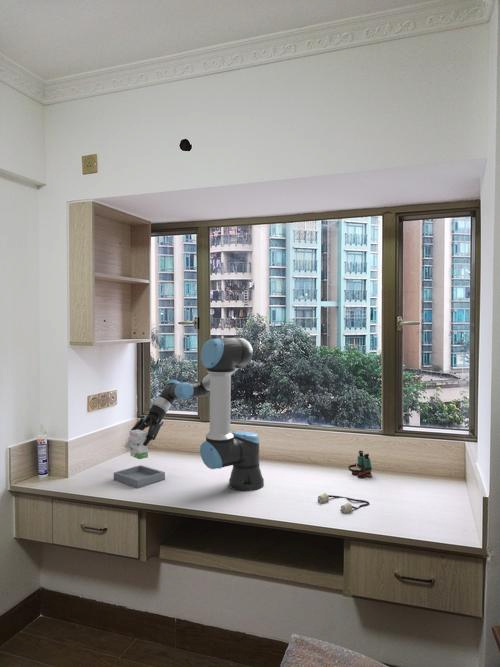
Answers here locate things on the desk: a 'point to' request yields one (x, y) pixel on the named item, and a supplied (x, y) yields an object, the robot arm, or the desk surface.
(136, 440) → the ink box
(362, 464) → the binoculars
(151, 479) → the gray tray
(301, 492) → the desk surface
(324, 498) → the grey balls with cord
